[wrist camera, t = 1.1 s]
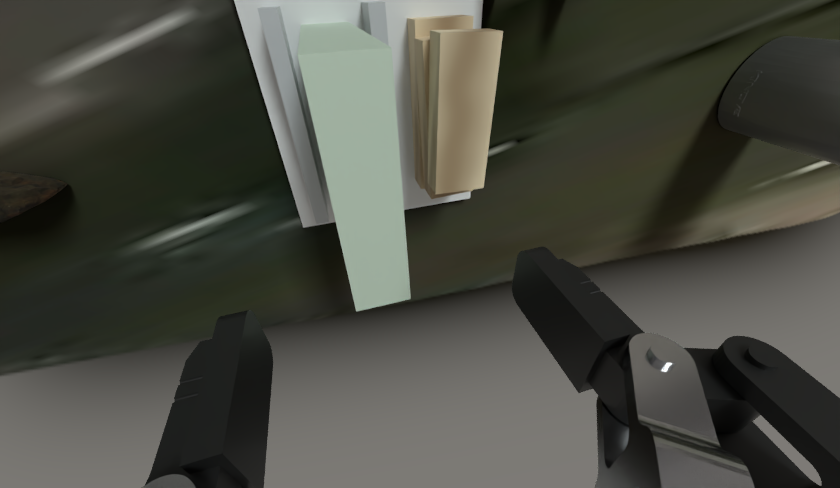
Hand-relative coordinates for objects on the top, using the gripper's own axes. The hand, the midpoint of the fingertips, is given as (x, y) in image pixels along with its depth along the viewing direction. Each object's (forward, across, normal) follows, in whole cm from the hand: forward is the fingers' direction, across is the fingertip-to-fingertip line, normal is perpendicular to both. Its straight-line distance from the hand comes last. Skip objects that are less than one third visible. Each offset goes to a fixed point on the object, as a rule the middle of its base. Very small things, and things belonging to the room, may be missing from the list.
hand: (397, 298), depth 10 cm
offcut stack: (+19, -8, 0) cm, 21 cm away
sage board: (+19, 0, 0) cm, 19 cm away
